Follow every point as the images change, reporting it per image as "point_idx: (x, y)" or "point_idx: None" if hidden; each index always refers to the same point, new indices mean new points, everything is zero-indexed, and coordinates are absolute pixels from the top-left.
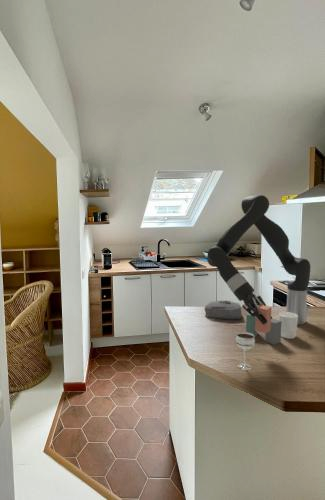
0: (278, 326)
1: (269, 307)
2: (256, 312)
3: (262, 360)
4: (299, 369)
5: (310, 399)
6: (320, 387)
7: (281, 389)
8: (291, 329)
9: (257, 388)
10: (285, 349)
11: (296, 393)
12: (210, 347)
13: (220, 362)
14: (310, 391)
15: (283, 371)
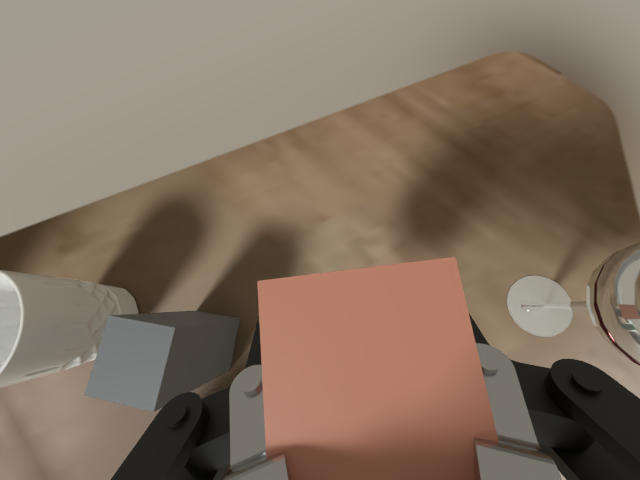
0: (160, 319)
1: (308, 289)
2: (602, 381)
3: None
4: (378, 156)
5: (529, 64)
6: (438, 74)
7: (557, 135)
8: (93, 291)
9: (631, 186)
10: (253, 262)
11: (535, 98)
12: None
13: None
14: (486, 80)
15: (438, 184)
